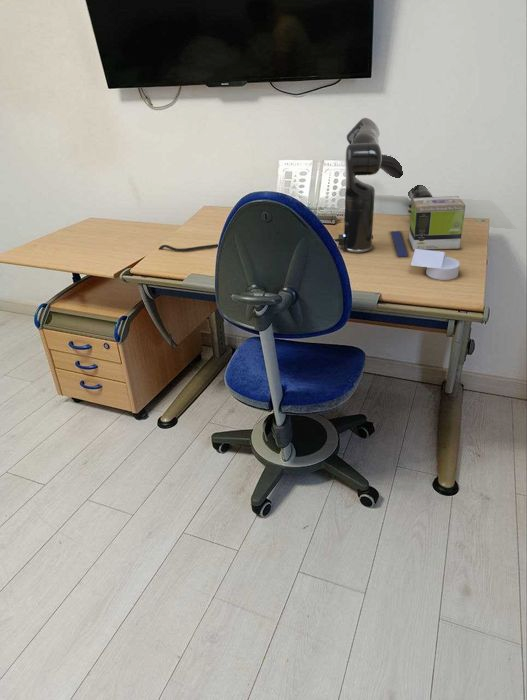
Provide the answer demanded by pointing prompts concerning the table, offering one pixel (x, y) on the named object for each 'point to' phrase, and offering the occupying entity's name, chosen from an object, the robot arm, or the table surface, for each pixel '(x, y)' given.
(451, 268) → the wedge on round base
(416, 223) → the tea box
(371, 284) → the table surface
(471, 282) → the table surface
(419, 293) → the table surface
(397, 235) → the ruler
